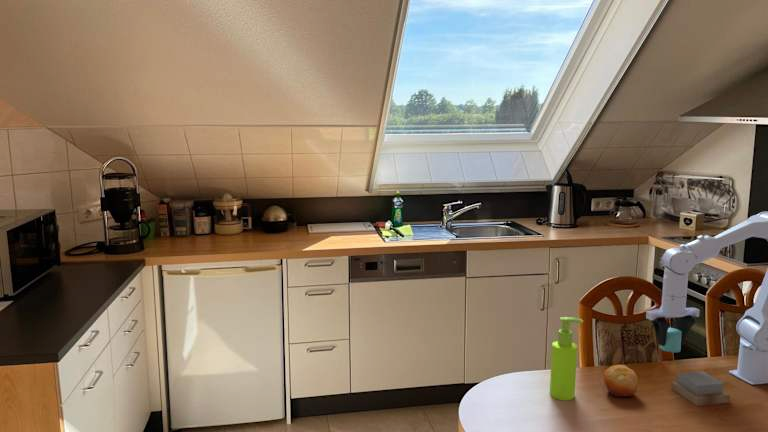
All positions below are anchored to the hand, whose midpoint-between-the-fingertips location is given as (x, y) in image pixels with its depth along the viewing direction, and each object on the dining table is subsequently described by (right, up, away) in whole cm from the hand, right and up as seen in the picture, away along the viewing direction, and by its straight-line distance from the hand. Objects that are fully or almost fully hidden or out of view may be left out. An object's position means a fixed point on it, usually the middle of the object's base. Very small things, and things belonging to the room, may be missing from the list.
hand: (670, 343), depth 157 cm
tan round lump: (-17, -11, -9) cm, 22 cm away
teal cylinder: (0, -1, 0) cm, 1 cm away
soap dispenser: (-31, -11, -10) cm, 35 cm away
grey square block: (+2, -9, -10) cm, 14 cm away
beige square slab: (+2, -11, -10) cm, 15 cm away
